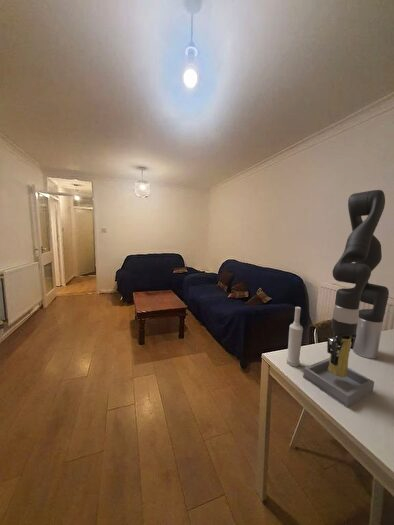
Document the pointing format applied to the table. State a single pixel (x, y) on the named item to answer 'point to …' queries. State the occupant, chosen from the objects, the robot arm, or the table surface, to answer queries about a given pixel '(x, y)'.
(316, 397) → the table surface
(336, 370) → the vase
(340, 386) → the bin
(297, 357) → the bottle
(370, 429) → the table surface
